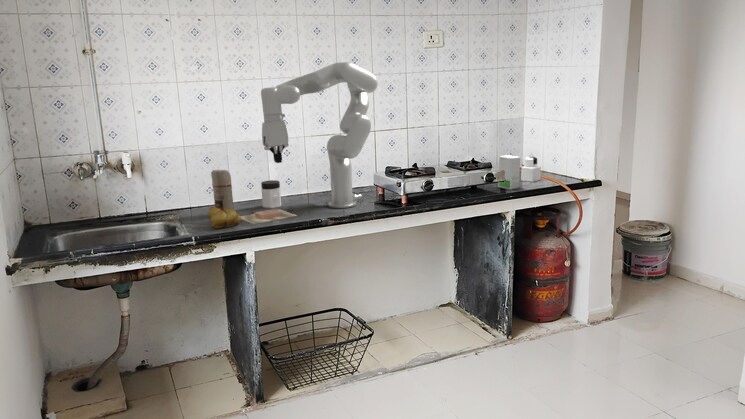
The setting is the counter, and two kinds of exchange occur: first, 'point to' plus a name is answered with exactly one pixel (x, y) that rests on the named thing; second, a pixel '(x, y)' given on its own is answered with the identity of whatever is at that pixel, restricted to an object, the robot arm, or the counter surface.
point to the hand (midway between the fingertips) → (278, 162)
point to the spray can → (222, 189)
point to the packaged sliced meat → (255, 220)
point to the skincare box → (510, 171)
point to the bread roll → (223, 217)
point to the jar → (271, 193)
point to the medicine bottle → (530, 170)
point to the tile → (268, 214)
